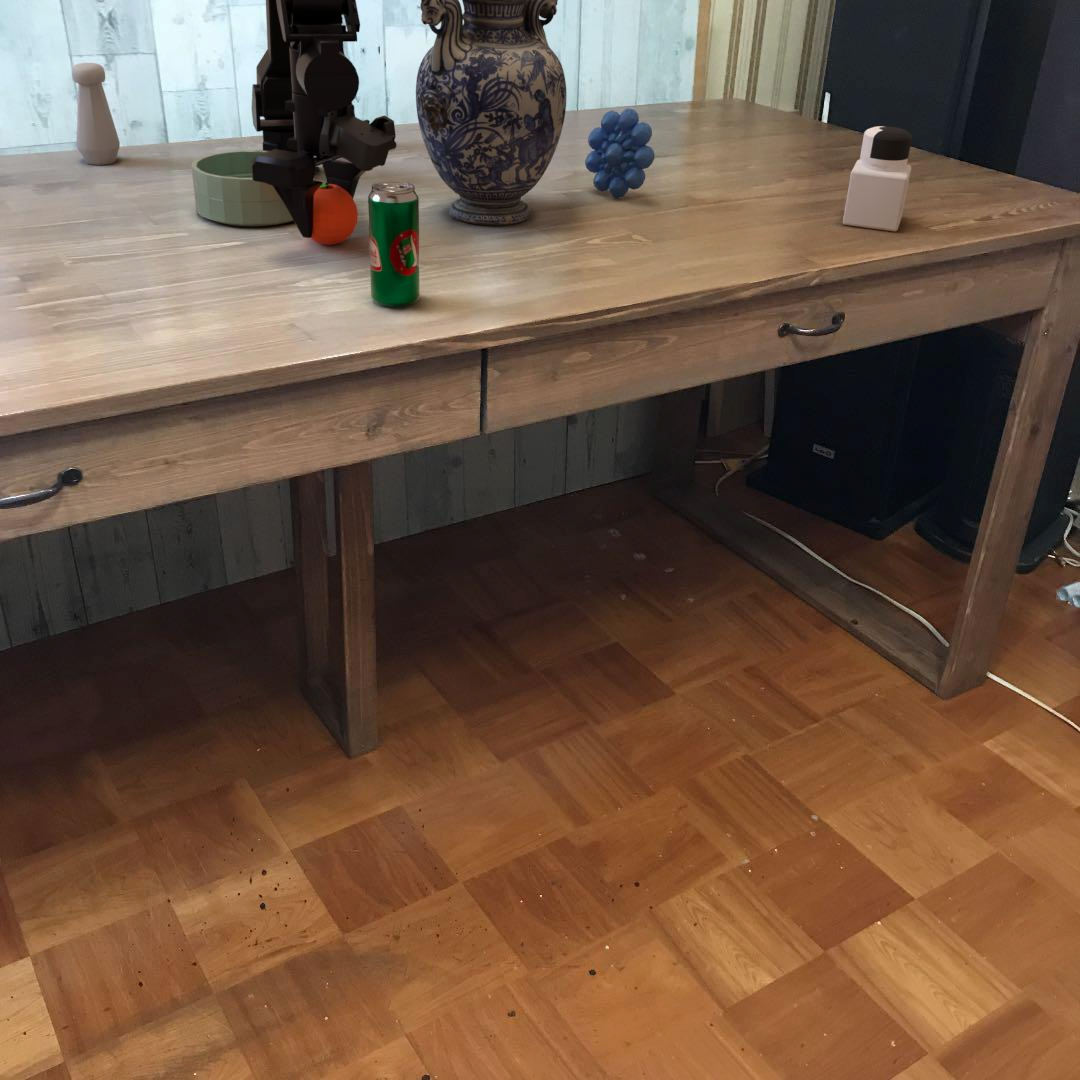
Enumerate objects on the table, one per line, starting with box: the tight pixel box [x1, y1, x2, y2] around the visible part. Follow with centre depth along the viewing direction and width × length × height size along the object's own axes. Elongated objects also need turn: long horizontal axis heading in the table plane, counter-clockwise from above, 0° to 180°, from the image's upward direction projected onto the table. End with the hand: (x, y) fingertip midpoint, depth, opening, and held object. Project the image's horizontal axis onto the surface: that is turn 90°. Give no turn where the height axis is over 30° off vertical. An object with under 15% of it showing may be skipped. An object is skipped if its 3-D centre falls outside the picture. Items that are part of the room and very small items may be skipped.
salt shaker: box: [71, 62, 121, 166], centre depth 168 cm, size 6×6×13 cm
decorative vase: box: [415, 0, 567, 226], centre depth 150 cm, size 21×19×28 cm
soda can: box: [367, 180, 420, 309], centre depth 125 cm, size 5×5×12 cm
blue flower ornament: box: [584, 108, 656, 199], centre depth 164 cm, size 12×7×12 cm, turn 45°
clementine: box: [310, 182, 359, 246], centre depth 142 cm, size 8×7×7 cm
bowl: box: [191, 149, 294, 227], centre depth 152 cm, size 14×14×6 cm
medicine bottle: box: [842, 125, 913, 232], centre depth 158 cm, size 7×7×12 cm
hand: (324, 229), depth 143 cm, fingers closed on clementine, 7 cm apart
